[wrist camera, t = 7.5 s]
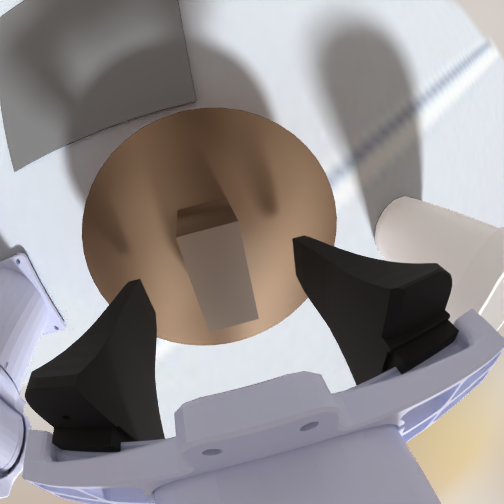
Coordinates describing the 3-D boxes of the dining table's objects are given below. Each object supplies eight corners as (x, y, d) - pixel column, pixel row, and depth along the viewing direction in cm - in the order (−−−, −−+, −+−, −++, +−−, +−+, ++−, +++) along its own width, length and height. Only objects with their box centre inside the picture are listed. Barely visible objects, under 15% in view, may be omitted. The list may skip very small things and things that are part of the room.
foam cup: (391, 162, 20) (524, 222, 9) (441, 202, 23) (537, 260, 12) (343, 259, 23) (440, 363, 12) (402, 278, 27) (480, 355, 16)
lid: (142, 354, 17) (140, 400, 14) (53, 158, 10) (13, 176, 7) (331, 303, 19) (358, 340, 16) (317, 91, 12) (361, 87, 9)
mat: (16, 171, 13) (14, 171, 13) (0, 19, 6) (-1, 18, 6) (196, 101, 15) (196, 101, 15) (169, -55, 8) (169, -57, 8)
